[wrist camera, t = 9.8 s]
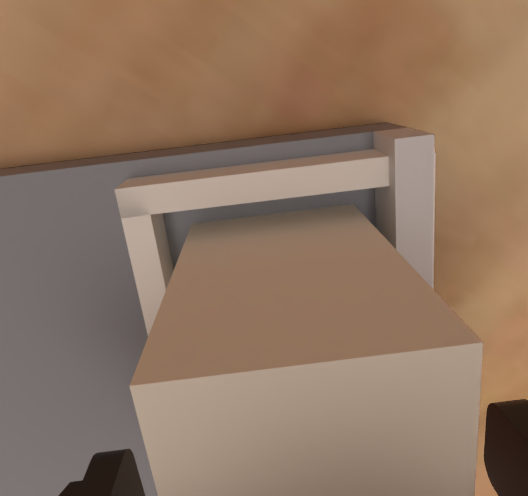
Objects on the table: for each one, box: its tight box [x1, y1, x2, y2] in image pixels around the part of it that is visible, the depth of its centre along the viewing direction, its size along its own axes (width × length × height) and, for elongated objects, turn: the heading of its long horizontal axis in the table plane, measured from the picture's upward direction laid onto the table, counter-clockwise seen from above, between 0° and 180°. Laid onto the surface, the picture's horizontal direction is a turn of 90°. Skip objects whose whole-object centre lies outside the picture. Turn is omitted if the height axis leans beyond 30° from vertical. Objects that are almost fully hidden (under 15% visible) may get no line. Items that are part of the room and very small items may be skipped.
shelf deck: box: [0, 123, 436, 496], centre depth 17 cm, size 23×16×4 cm
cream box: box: [129, 204, 483, 496], centre depth 12 cm, size 9×5×8 cm, turn 7°
